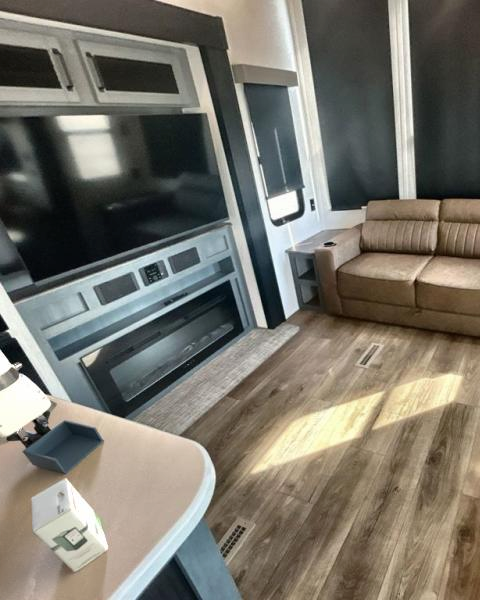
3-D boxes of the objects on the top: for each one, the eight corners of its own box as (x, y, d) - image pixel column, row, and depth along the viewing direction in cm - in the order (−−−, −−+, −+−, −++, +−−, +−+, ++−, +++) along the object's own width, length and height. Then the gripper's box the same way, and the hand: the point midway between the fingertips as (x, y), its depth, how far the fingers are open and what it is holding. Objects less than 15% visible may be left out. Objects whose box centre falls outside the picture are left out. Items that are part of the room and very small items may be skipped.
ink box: (67, 538, 64) (28, 496, 59) (101, 516, 67) (66, 475, 62) (73, 574, 59) (30, 532, 53) (109, 549, 61) (72, 507, 56)
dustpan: (9, 458, 81) (-2, 444, 78) (51, 427, 88) (42, 414, 86) (65, 474, 77) (55, 460, 75) (104, 440, 84) (96, 427, 82)
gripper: (23, 357, 82) (66, 416, 91) (-70, 408, 69) (-10, 472, 77) (46, 359, 80) (88, 420, 89) (-45, 412, 67) (15, 477, 75)
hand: (42, 443), depth 83 cm, fingers closed on dustpan, 2 cm apart
